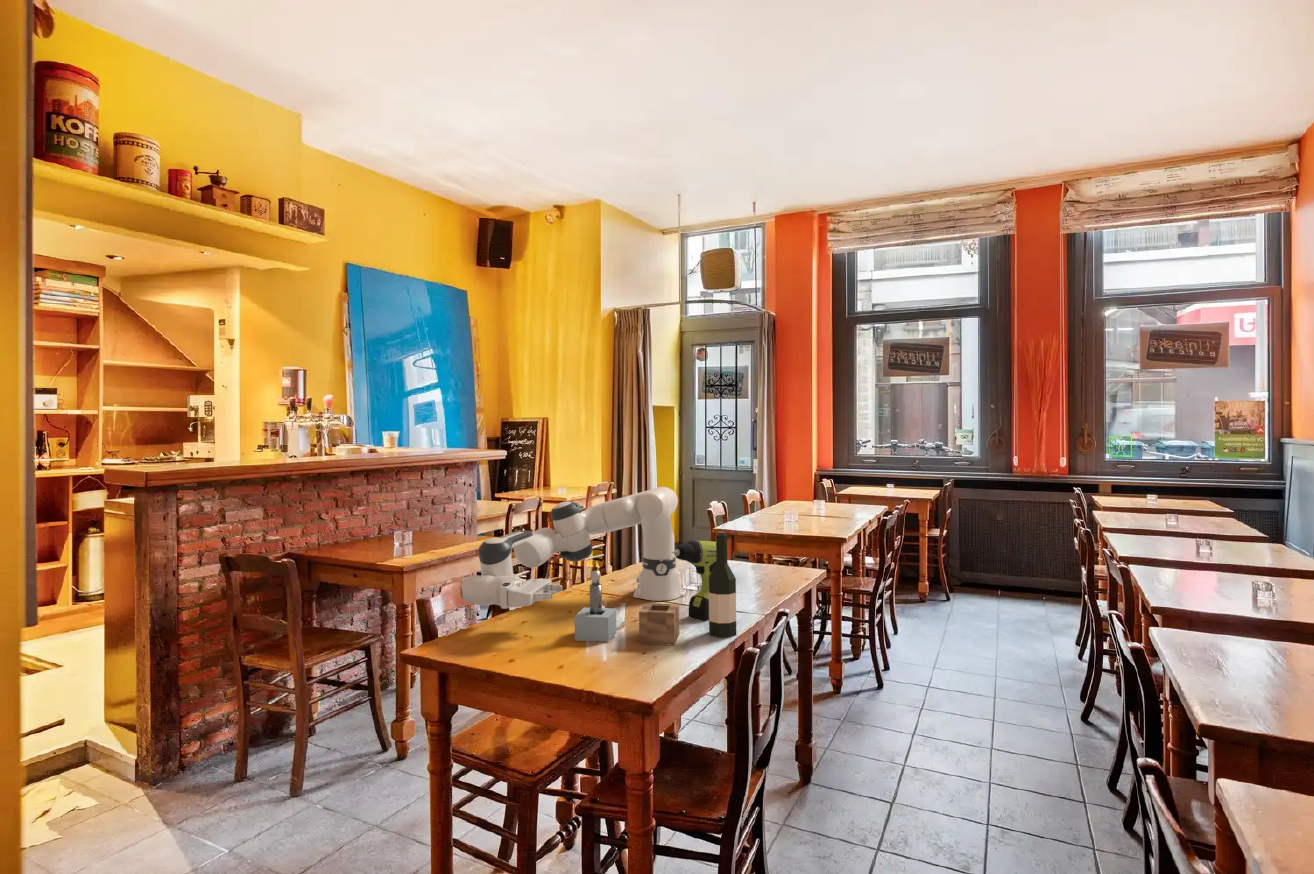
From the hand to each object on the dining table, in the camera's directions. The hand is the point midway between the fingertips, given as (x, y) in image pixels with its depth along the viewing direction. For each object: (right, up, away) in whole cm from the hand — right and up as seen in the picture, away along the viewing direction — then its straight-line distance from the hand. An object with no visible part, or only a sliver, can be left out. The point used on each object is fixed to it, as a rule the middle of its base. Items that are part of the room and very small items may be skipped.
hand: (556, 592), depth 209 cm
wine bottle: (+49, -12, -1) cm, 51 cm away
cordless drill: (+43, -12, +16) cm, 47 cm away
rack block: (+31, -12, -5) cm, 33 cm away
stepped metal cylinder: (+12, -9, -2) cm, 15 cm away
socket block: (+12, -12, -2) cm, 17 cm away
